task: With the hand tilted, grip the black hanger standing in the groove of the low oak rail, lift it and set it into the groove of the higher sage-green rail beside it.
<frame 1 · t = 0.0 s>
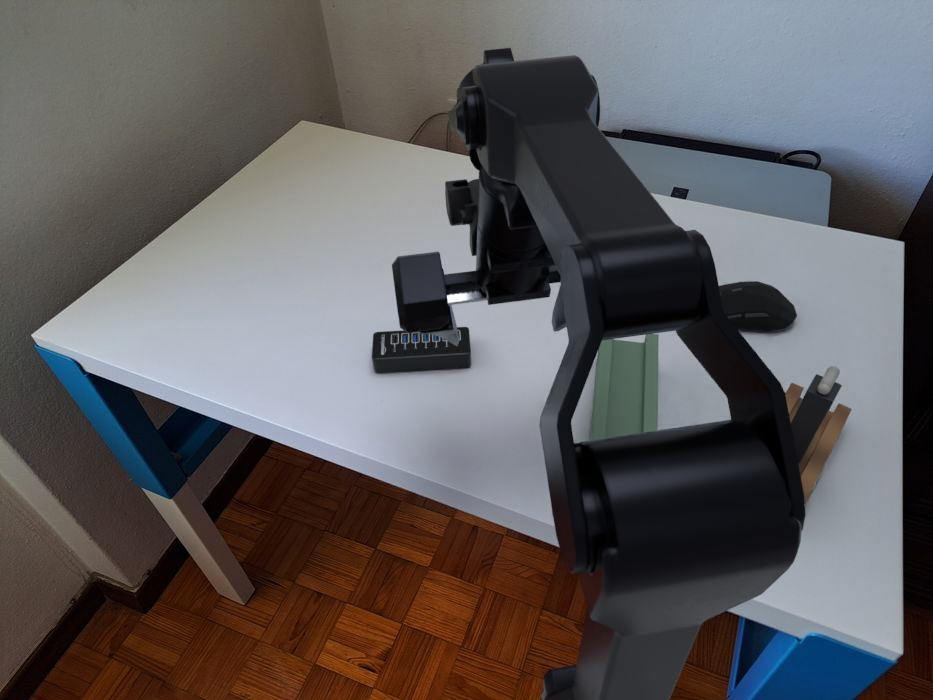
hand: (505, 333, 62), 13 cm above the table, tool pointing down, fingers open, 9 cm apart
low rail: (785, 462, 67), on the table
gaming mouse: (728, 315, 82), on the table
multiport hub: (422, 357, 79), on the table
black hanger: (788, 456, 66), point 1 cm above the table, touching low rail
high rail: (620, 418, 71), on the table
blue product box: (585, 261, 90), on the table
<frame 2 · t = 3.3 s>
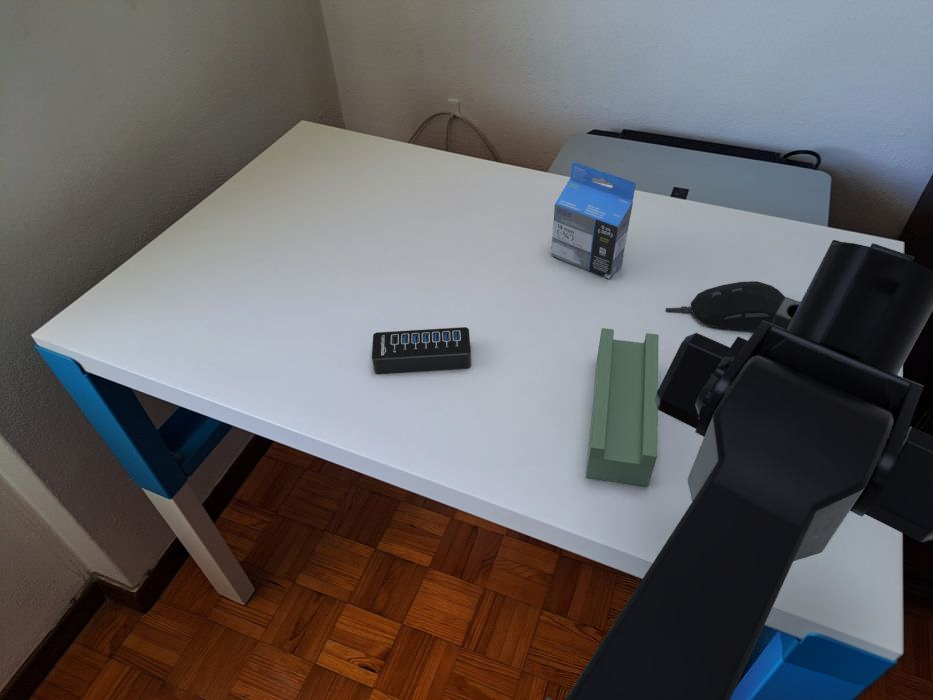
hand: (802, 426, 53), 13 cm above the table, tool tilted 45°, fingers open, 9 cm apart
nothing on the table moved.
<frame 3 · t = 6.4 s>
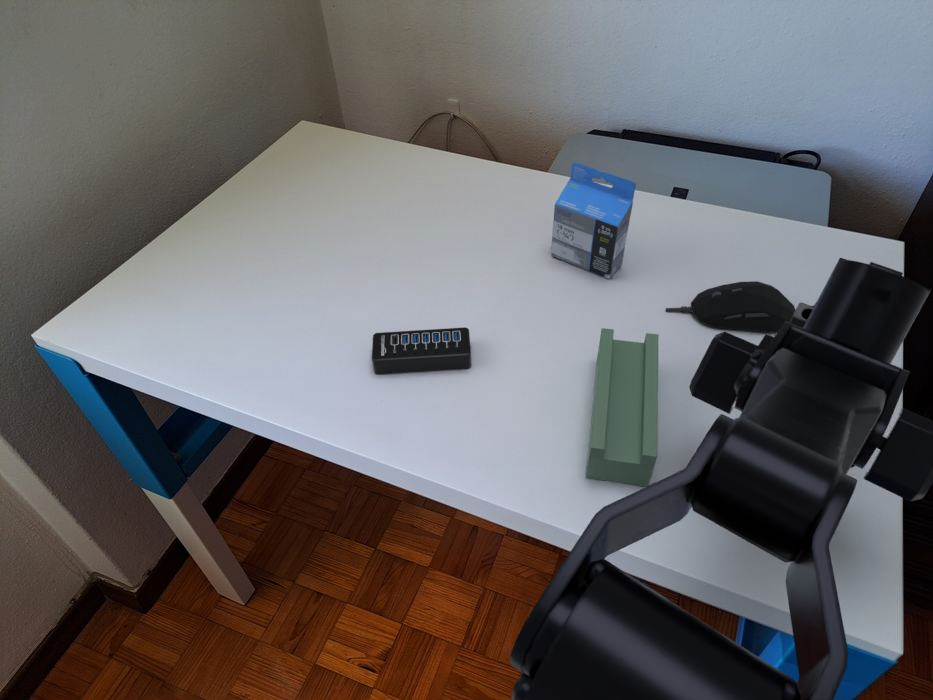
hand: (812, 411, 63), 7 cm above the table, tool tilted 45°, fingers closed on black hanger, 2 cm apart
black hanger: (788, 456, 66), point 1 cm above the table, touching gripper, low rail
everything else where it was.
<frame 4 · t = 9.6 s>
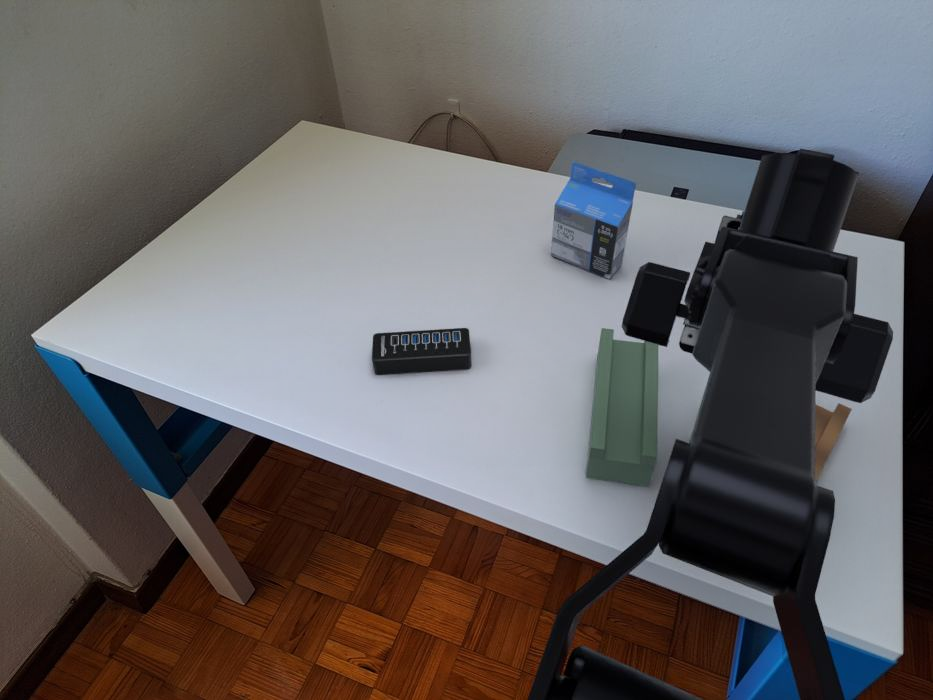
hand: (742, 334, 61), 13 cm above the table, tool tilted 45°, fingers closed on black hanger, 2 cm apart
black hanger: (725, 386, 64), point 7 cm above the table, touching gripper
everything else where it was.
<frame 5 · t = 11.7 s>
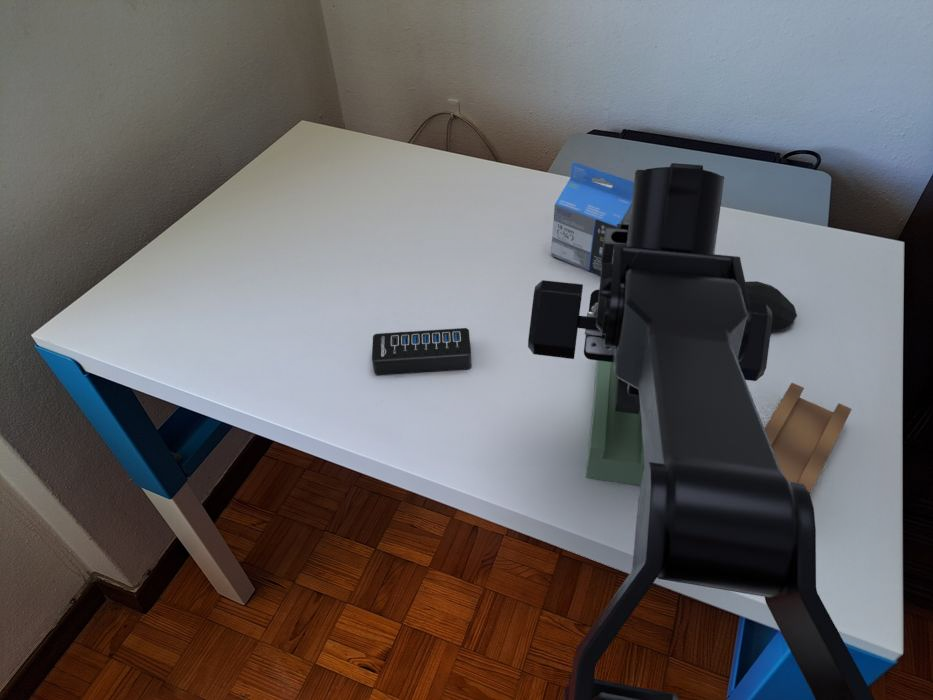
hand: (637, 331, 64), 11 cm above the table, tool tilted 45°, fingers closed on black hanger, 2 cm apart
black hanger: (628, 381, 67), point 6 cm above the table, touching gripper
everything else where it was.
when the fingers open (9 cm above the table, at t = 12.8 s): black hanger stays where it is, resting on high rail.
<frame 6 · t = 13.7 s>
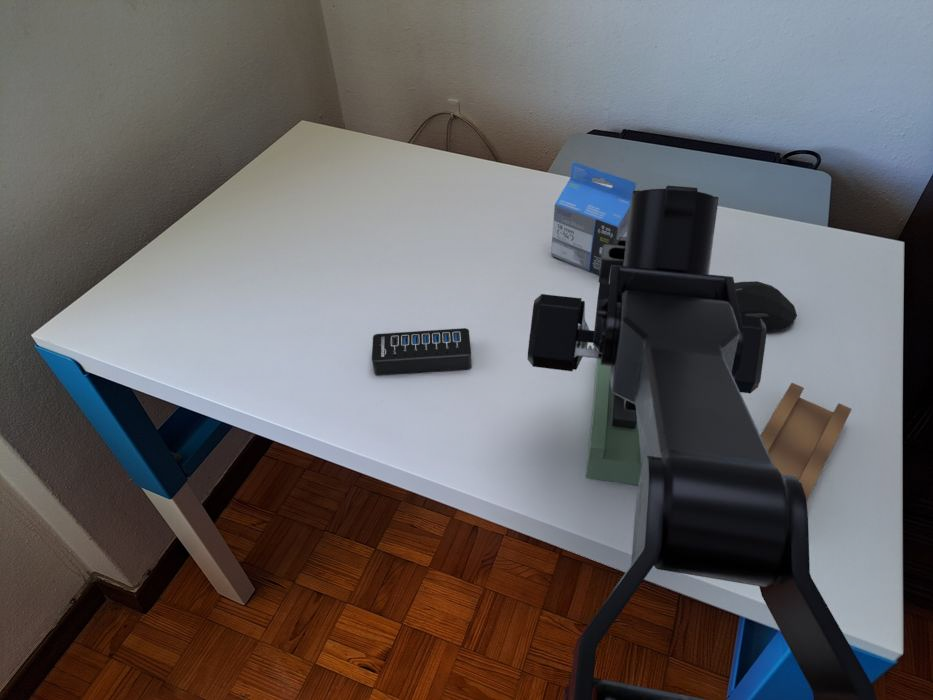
hand: (634, 342, 65), 10 cm above the table, tool tilted 45°, fingers open, 9 cm apart
black hanger: (625, 396, 69), point 3 cm above the table, touching high rail
everything else where it was.
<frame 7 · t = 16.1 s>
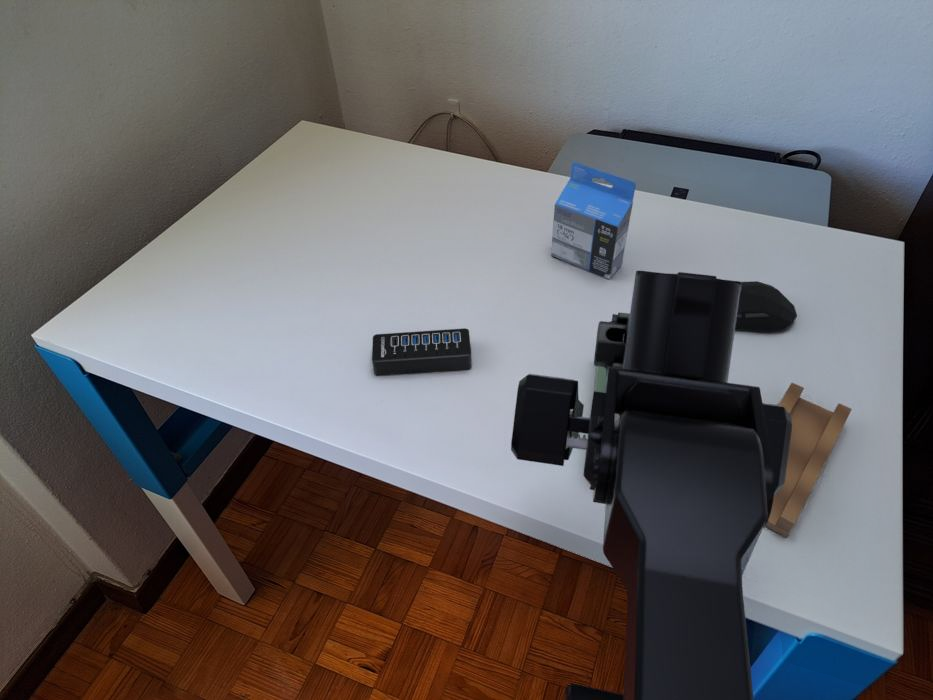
hand: (635, 419, 57), 11 cm above the table, tool tilted 45°, fingers open, 9 cm apart
nothing on the table moved.
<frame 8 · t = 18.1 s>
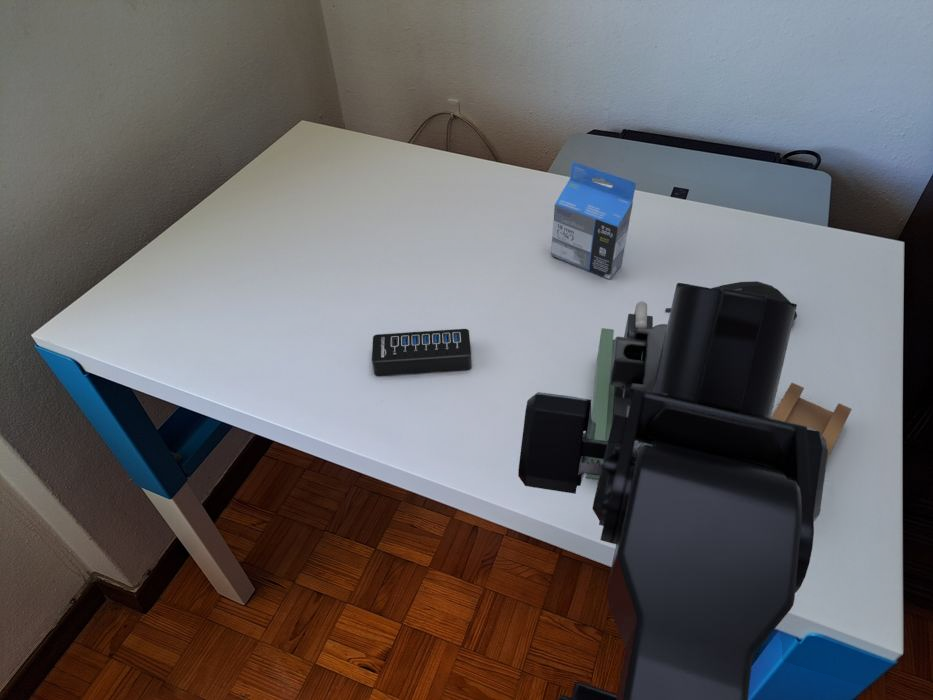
hand: (652, 439, 53), 14 cm above the table, tool tilted 45°, fingers open, 9 cm apart
nothing on the table moved.
at the end: black hanger 0.0 cm off-centre on the high rail, point 3.5 cm above the high rail's base; black hanger tilted 0°; the gripper is holding nothing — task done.
